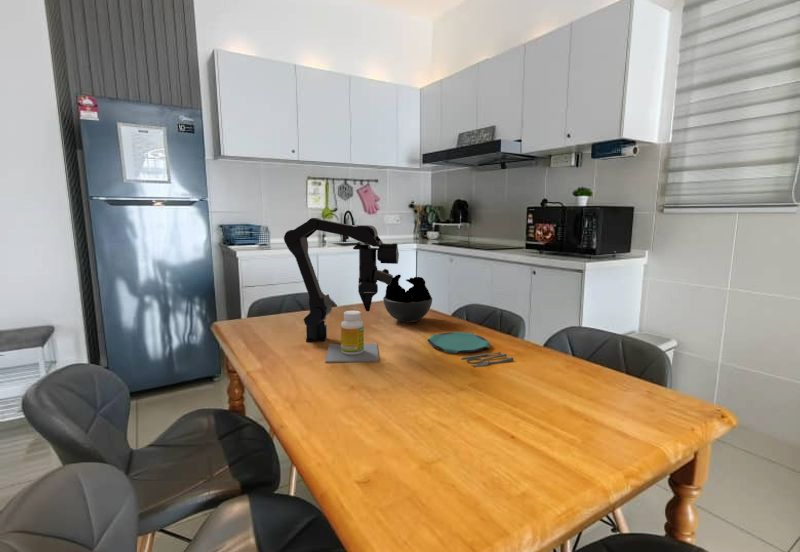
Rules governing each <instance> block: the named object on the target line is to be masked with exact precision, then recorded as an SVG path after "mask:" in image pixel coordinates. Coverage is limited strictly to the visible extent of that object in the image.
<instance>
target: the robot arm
mask: <svg viewBox="0 0 800 552" xmlns="http://www.w3.org/2000/svg"><path fill="white" fill-rule="evenodd" d="M317 231H321V232H325V233H331V234H334V235H340V236H345V237H349V238H351V239H354V240H355V241H358V242H357V243H356V244H355V246H353V247H352V250H358V257H359V258H358V264H359V265H358V269H359V271H358V273H359V274H358V285H357V286H358V289H357V290H358V294H359V297H360V300H361V302H362V304H363V307H364V310H365V312H370V311H371V306H372V300H373V298H374V296H375V295H376V294H378V291H379V290H378V289H379V288H378V287H379V286H378V284H377V283H378V282H381V283H384V284H385V285H390V283H391V281H392V278H393V277H394V275H393V274H391V273H390V272H389V269H386V268H384V269H382V270H379V269H378V266H377V261H378V262H380V264H388V265H389V264H392V265H393V264H395V265H398V264H399V257H400V253H399V247H398V246H399V245H398V243H394V242H393V243H384V242H383V241H382V239H381V238H380V237H379V235H378V231H377V228H376V227H375V226H373V225H368V224H367V225H366V224H365V225H364V224H353V225H351V224H347V223H341V222H337V221H332V220H326V219H321V218H318V217H311V218H309V219H308V220H307V221H305V222H304V223H302V224H300V225H299V226H296V228H295V229H289V230H287V231H286V232H285V234H284V236H283V241H284V244H285V245H286V247H287V248H288V249H287V250H288V251H289V252H290V253H291V254H292V256H294V258H295V261H296V264H297V266H298V269H299V272H300V275H301V277H302V280H303V283H304V286H305V289H306V291H307V294H308V308H309V313H308V314H307V315H306V316H305V317H304V318H303V322H304V325H305V326H306V328H305V329H306V339H305V342H307V343H308V342H309V343H310V342H325V341H326V339H327V338H328V325H327V324H326V319H327V317H328V315H330V314H331V312H332V310H333V309H332V308H333V307H332V306H333V303H332V302H331V298H330V297H331V296H330V295H329V294H326V295H325V293H324V292H323V291H322V289H321V286H320V283H319V280H318V278H317V274H316V272H315V269H314V266H313V264H312V261H311V258H310V255H309V241H308V238H309V237H310V236H312V235H313V234H314V233H316V232H317Z"/></svg>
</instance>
